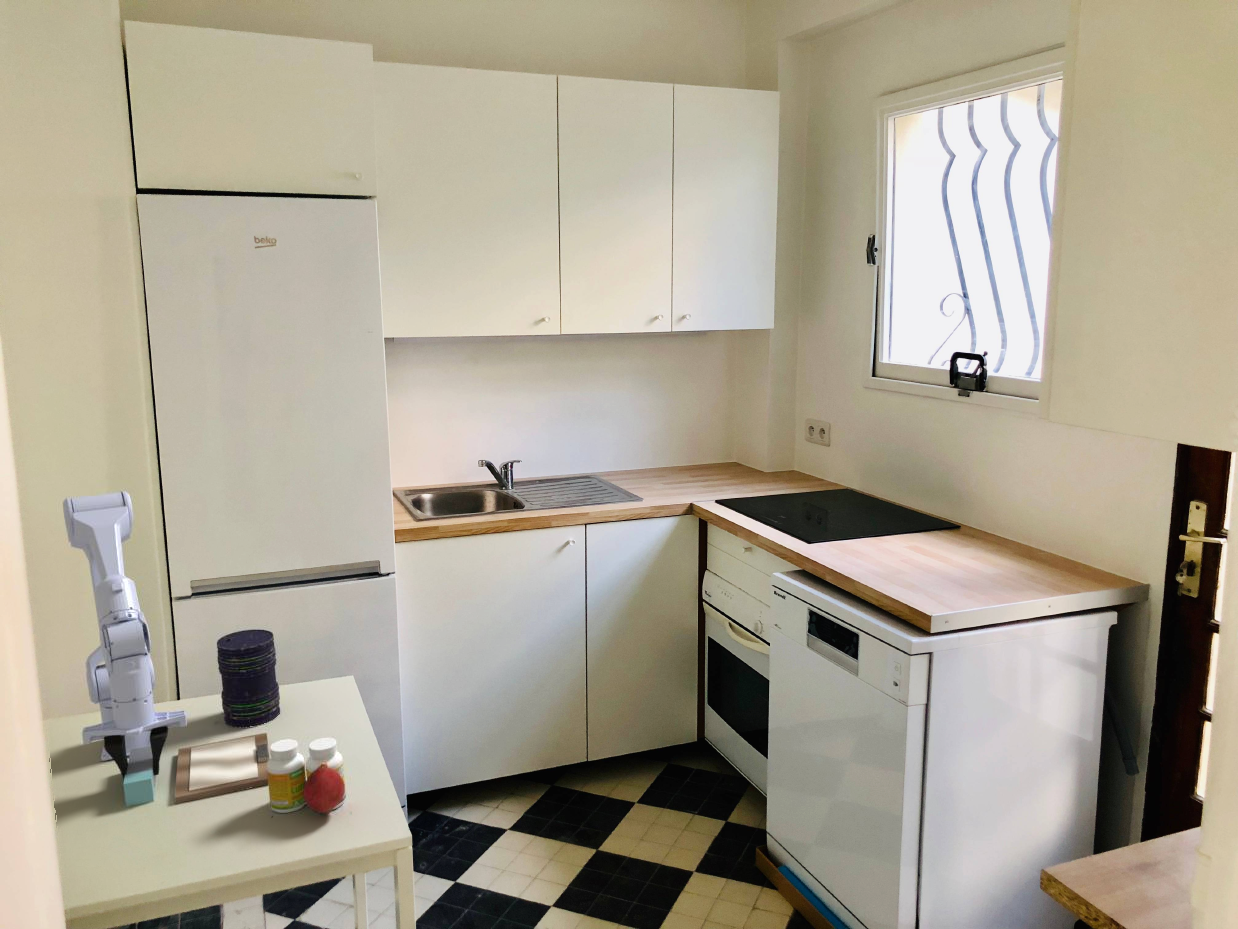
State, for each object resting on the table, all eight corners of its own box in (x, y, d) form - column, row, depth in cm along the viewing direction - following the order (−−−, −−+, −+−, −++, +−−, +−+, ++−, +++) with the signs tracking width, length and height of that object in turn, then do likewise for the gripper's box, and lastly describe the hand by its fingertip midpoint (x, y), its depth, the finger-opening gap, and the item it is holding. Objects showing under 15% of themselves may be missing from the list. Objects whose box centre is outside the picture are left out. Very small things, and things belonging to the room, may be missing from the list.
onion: (311, 828, 137) (307, 777, 136) (301, 810, 142) (296, 760, 140) (351, 815, 140) (347, 765, 139) (340, 798, 145) (336, 750, 143)
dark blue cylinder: (286, 702, 180) (279, 627, 177) (274, 725, 170) (267, 647, 167) (231, 706, 178) (224, 631, 175) (216, 730, 169) (208, 651, 166)
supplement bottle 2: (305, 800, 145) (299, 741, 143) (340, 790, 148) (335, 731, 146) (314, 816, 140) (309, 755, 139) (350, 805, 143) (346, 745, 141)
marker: (133, 766, 156) (130, 745, 156) (158, 762, 158) (156, 740, 157) (126, 807, 144) (123, 784, 143) (153, 801, 145) (151, 778, 145)
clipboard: (179, 754, 160) (178, 744, 160) (267, 738, 165) (266, 728, 165) (175, 803, 145) (174, 792, 144) (272, 783, 150) (271, 773, 150)
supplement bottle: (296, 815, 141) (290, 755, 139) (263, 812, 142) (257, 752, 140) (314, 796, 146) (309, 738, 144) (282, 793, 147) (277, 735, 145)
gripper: (75, 714, 141) (86, 797, 144) (182, 696, 147) (191, 777, 149) (81, 695, 148) (92, 776, 150) (183, 679, 153) (192, 757, 156)
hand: (141, 775), depth 150 cm, fingers closed on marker, 4 cm apart
